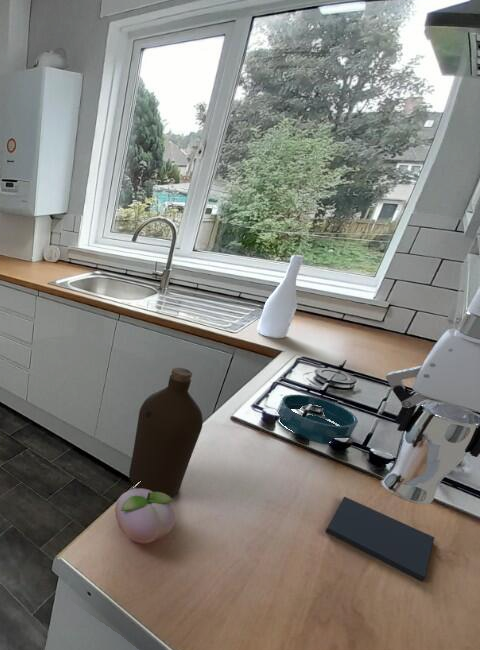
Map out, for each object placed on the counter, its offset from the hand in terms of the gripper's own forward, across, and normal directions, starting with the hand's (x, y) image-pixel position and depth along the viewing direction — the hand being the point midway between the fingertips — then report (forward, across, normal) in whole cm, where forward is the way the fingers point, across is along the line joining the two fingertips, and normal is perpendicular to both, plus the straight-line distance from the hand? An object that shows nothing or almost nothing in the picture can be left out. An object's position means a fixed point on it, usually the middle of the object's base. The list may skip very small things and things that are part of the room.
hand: (436, 439), depth 62 cm
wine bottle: (+21, +45, -95) cm, 107 cm away
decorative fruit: (+21, +26, +33) cm, 47 cm away
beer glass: (+10, 0, 0) cm, 10 cm away
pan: (+21, +17, -31) cm, 41 cm away
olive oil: (+21, +31, +18) cm, 41 cm away
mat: (+21, 0, 0) cm, 21 cm away
